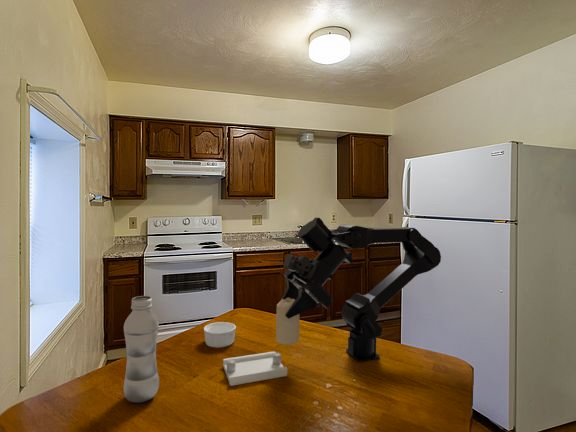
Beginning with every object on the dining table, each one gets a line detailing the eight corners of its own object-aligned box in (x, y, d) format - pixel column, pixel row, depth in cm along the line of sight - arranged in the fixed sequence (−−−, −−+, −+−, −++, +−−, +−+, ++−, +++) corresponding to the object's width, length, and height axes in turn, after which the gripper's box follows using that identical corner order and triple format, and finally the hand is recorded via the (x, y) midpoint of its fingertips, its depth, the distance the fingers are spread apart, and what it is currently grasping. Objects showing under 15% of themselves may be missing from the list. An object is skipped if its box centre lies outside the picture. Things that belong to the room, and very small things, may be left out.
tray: (274, 358, 83) (274, 346, 83) (287, 375, 75) (287, 362, 75) (223, 366, 79) (223, 354, 78) (230, 385, 70) (230, 372, 70)
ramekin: (196, 343, 91) (197, 328, 91) (219, 333, 99) (219, 319, 99) (220, 351, 86) (220, 335, 86) (242, 340, 94) (242, 325, 94)
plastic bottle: (136, 412, 61) (137, 305, 60) (116, 399, 64) (116, 299, 64) (166, 395, 66) (166, 297, 66) (145, 385, 70) (146, 292, 69)
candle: (275, 344, 76) (276, 302, 76) (276, 334, 82) (277, 295, 81) (299, 345, 76) (299, 303, 75) (298, 335, 82) (299, 296, 81)
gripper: (290, 238, 88) (250, 282, 85) (320, 247, 70) (270, 303, 67) (317, 265, 91) (279, 309, 88) (352, 281, 73) (306, 336, 70)
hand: (282, 313), depth 78 cm, fingers closed on candle, 5 cm apart
